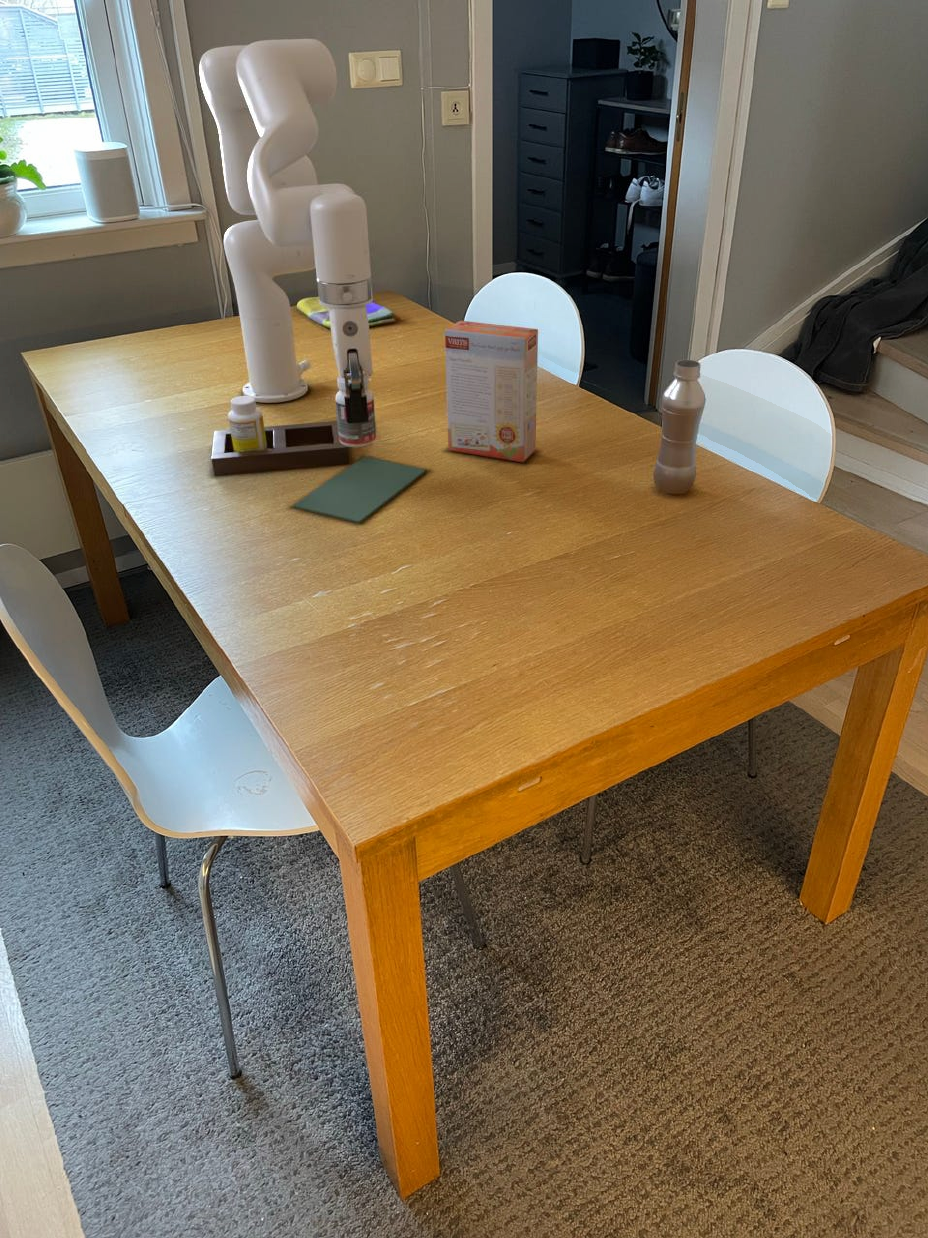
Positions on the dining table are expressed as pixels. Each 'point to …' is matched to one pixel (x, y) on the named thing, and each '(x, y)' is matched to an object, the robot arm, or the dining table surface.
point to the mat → (360, 489)
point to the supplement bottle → (246, 425)
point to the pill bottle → (355, 431)
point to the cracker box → (491, 389)
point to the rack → (281, 449)
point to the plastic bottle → (680, 429)
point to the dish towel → (321, 313)
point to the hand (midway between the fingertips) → (355, 412)
